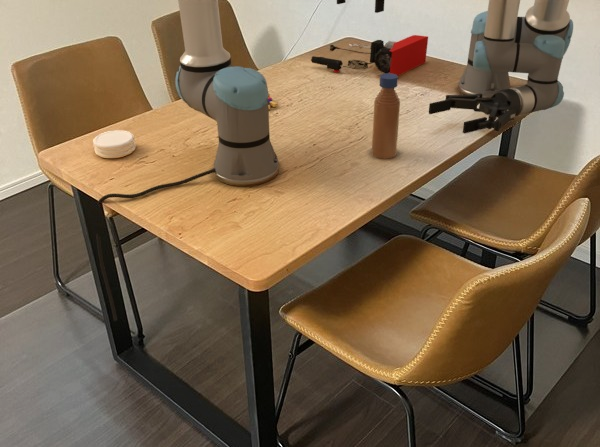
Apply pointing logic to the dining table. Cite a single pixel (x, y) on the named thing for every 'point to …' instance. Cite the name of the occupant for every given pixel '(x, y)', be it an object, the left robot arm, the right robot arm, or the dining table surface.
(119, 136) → the coaster
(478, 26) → the right robot arm
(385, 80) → the cap
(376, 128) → the bottle
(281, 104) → the dining table surface
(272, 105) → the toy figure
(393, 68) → the electric hoist
